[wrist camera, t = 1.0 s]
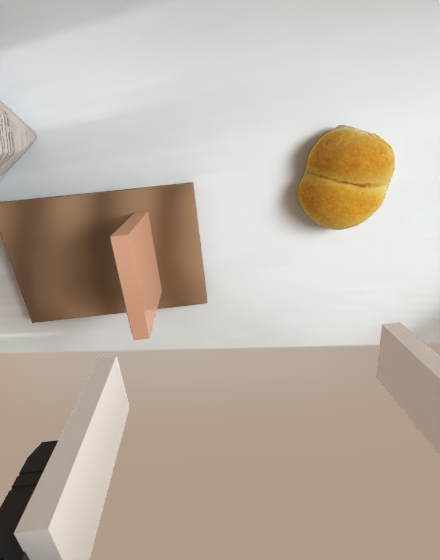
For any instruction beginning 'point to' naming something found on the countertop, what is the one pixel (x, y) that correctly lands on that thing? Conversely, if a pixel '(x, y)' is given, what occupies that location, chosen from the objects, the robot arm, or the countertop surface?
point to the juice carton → (12, 138)
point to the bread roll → (345, 177)
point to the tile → (137, 272)
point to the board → (100, 249)
